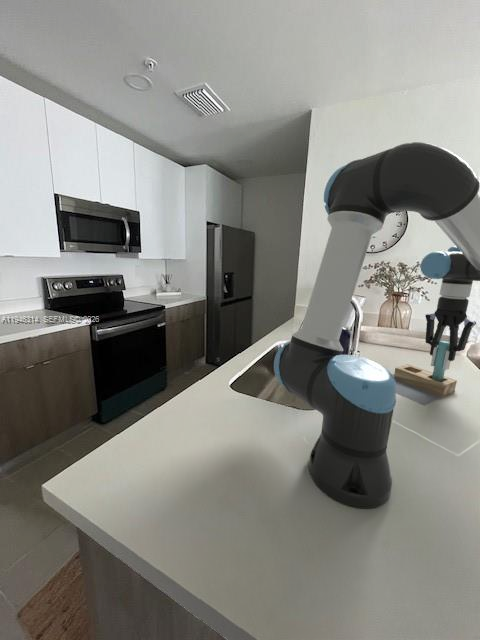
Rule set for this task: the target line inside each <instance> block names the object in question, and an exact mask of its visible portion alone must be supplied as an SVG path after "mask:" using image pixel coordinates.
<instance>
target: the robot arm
mask: <svg viewBox="0 0 480 640" xmlns="http://www.w3.org/2000/svg"><path fill="white" fill-rule="evenodd" d="M479 191H480V179H479V178H478V177H477V175H476V173H475V171H474V170H473V168H472V167H471V166H470V165H469V164H468V163H467V162H466V161H465V160H463V159H462V158H461V157H459V156H458V155H456V154H454V153H453V152H452V151H450V150H448V149H445V148H444V147H441V146H439V145H435V144H432V143H430V142H429V143H428V142H427V143H426V142H416V141H415V142H413V141H412V142H408V143H407V142H406V143H402V144H399V145H396V146H394V147H392V148H389V149H386V150H383V151H381V152H378V153H375V154H371V155H369V156H366V157H364V158H361V159H359V158H358V159H356V160H352V161H350V162H348V163H347V164H345V165H343V166H341V167H339V168H338V169H336V171H334V172H333V173H332V175H331V176H330V178H329V179H328V181H327V183H326V185H325V187H324V192H323V203H325V205H324V210H325V212H326V213H327V222H328V224H329V225H330V226H331V230H330V233H329V235H328V239H327V243H326V246H325V248H324V252H323V255H322V258H321V261H320V265H319V269H318V271H317V274H316V279H315V282H314V285H313V288H312V292H311V295H310V298H309V302H308V304H307V305H308V306H307V308H306V311H305V315H304V318H303V321H302V325H301V328H300V329H298V330H297V331H295V332H293V333H292V335H291V337H290V340H289V341H287V342H285V343H283V345H282V347H281V346H280V348H279V349H278V350H277V352H276V354H275V356H274V361H273V370H274V371H273V372H274V375H275V377H276V380H277V381H278V383H279V385H281V386H283V388H284V389H285V390H286V391H287V392H289V393H290V394H292V395H294V396H295V397H297V398H298V399H300V400H301V401H302V402H304V403H306V404H307V405H308V406H310V407H311V408H313V409H315V410H316V411H317V412H319V414H321V415H322V422H321V423H322V424H321V425H322V426H321V432H320V434H319V436H318V438H317V439H316V442H315V444H314V446H313V447H312V450H311V452H310V453H309V454H310V455H309V460H308V461H309V463H308V471H309V475H310V476H311V479H312V481H313V482H314V484H315V485H316V486H317V487H318V488H319V490H321V491H322V492H323V493H324V494H325V495H327V496H328V497H330V498H331V499H333V500H334V501H336V502H338V503H341V504H343V505H346V506H349V507H352V508H357V509H373V508H374V509H375V508H377V507H380V506H382V505H384V504H386V502H387V501H388V500H389V499H390V496H391V493H392V492H391V490H392V486H393V478H392V477H393V476H392V474H391V470H390V465H389V464H390V463H389V459H388V454H387V448H388V444H389V443H388V442H389V438H390V433H391V432H390V431H391V426H392V421H393V416H394V410H395V407H396V405H397V404H396V402H397V397H396V396H397V393H396V382H395V380H394V377H393V373H391V372H390V371H389V370H388V369H387V368H386V367H385V366H383V365H382V364H380V363H378V362H376V361H374V360H371V359H369V358H366V357H364V356H363V357H359V356H357V355H354V354H349V355H342V352H343V348H342V346H341V344H340V342H339V338H340V335H341V331H342V328H343V327H344V325H345V321H346V319H347V315H348V312H349V310H350V306H351V303H352V299H353V296H354V293H355V290H356V287H357V284H358V282H359V281H358V280H359V278H360V275H361V271H362V267H363V264H364V262H365V258H366V255H367V251H368V250H369V245H370V242H371V239H372V236H373V235H374V234H376V233H378V232H379V231H381V230H382V228H383V226H384V223H385V220H386V217H387V215H388V214H394V213H400V212H415V213H418V214H419V215H420V216H421V217H422V218H423V219H425V220H426V221H430V222H435V224H436V225H437V226H438V227H439V228H440V230H441V231H442V232H443V233H444V234H445V235H446V237H448V239H449V240H450V241H451V242H452V243H453V244H454V245H455V246H454V245H453V246H450V247H448V250H447V251H441V250H438V251H432V252H429V253H428V254H426V255H425V256H424V257H423V258H422V260H421V263H420V268H419V269H420V272H421V274H422V275H424V277H426V278H429V279H433V280H441V279H442V280H441V285H440V290H439V295H440V296H439V297H438V300H437V304H436V305H437V306H436V310H435V311H434V313H427V314H425V316H424V317H425V321H426V328H425V342H424V343H426V344H428V345H429V346H430V351H429V355H430V356H432V357H431V362H430V366H431V367H434V365H435V360H436V355H437V350H438V345H439V341H441V339H442V337H443V334H444V332H445V328H446V327H449V328H448V330H449V342H450V345H449V350H447V351H446V354H445V359H444V364H443V369H442V370H445V371H447V370H449V369H450V367H451V366H450V365H451V362H453V361H454V360H455V359H456V355H457V352H462V351H464V350H465V349H466V345H467V344H468V341H469V337H470V334H471V332H472V329H473V328H474V326H476V325H477V322H476V321H475V320H471V319H470V318H468V315H467V311H468V306H469V302H470V300H469V299H468V298H470V296H471V291H472V286H473V283H474V282H480V195H479ZM435 320H437V322H438V323H437V324H436V330H435ZM462 323H463V326H464V327H463V329H462V331H461V335H460V337H459V329H460V325H461V324H462ZM434 331H435V333H434ZM458 338H459V339H458Z"/></svg>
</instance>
